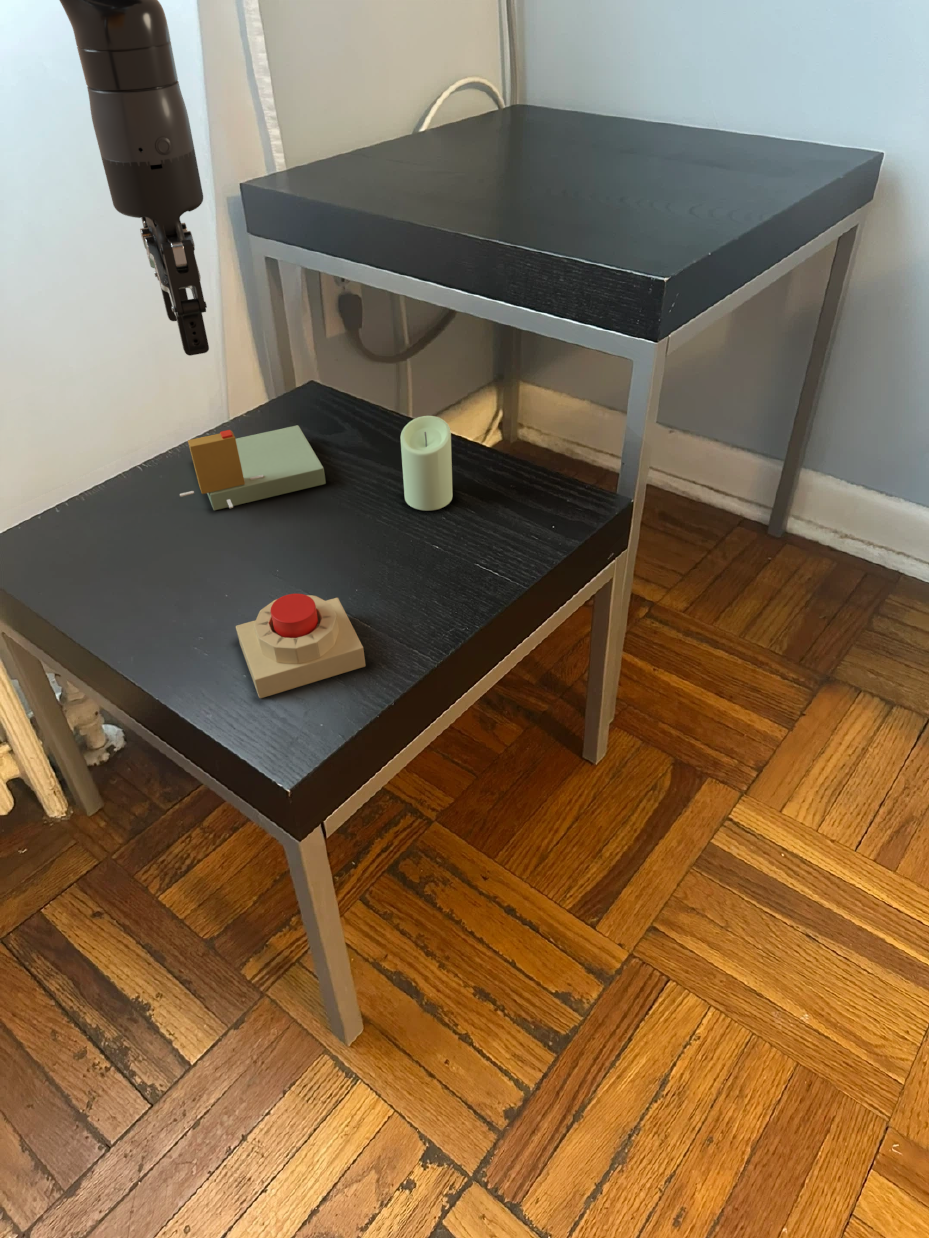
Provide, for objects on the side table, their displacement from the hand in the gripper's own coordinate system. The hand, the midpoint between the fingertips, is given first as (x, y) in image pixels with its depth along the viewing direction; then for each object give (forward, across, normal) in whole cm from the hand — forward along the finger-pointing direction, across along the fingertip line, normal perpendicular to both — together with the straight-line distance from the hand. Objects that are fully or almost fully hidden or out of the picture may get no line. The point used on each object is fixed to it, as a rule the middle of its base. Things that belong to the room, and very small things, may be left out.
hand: (188, 335), depth 83 cm
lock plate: (+16, +1, +3) cm, 17 cm away
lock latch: (+14, +4, 0) cm, 15 cm away
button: (+13, +29, 0) cm, 32 cm away
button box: (+17, +29, 0) cm, 34 cm away
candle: (+17, +12, +19) cm, 28 cm away
